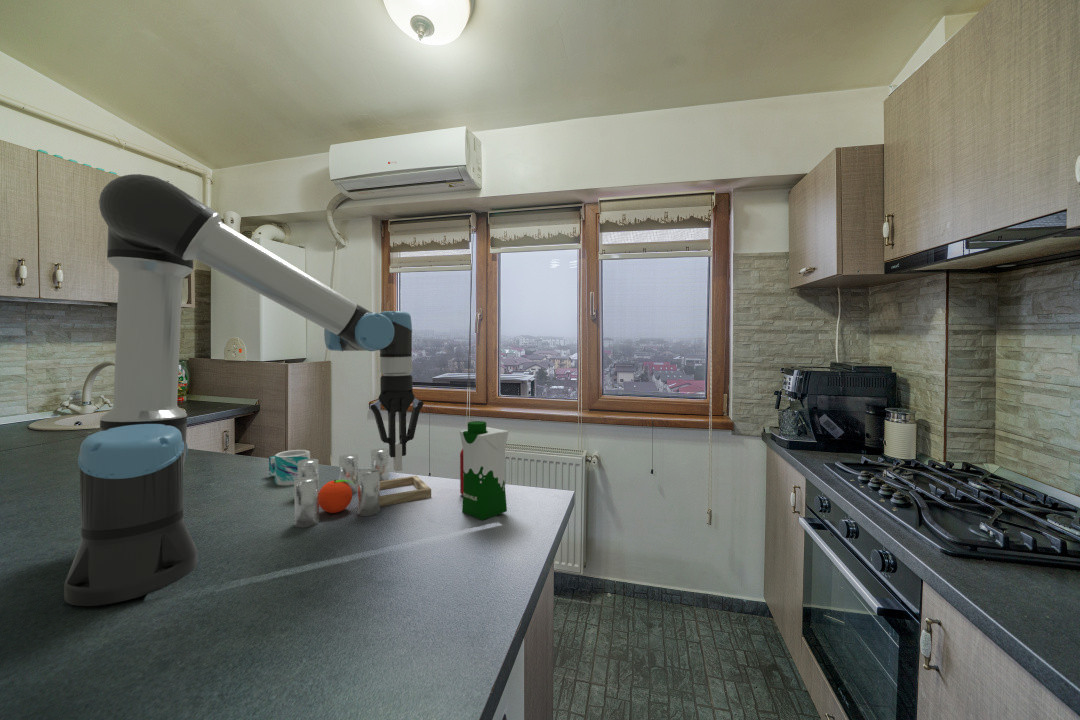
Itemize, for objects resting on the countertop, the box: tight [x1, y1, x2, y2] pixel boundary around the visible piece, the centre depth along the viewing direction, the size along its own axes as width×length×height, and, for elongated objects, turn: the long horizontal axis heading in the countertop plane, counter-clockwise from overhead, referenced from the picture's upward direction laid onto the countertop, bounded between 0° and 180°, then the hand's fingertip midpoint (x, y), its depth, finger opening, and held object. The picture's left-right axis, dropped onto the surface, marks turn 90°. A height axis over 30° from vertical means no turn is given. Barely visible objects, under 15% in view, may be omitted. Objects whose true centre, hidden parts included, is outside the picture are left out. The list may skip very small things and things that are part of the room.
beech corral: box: [380, 475, 432, 507], centre depth 106 cm, size 13×13×2 cm
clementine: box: [319, 479, 356, 514], centre depth 95 cm, size 8×7×7 cm
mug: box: [268, 449, 311, 486], centre depth 115 cm, size 8×12×8 cm
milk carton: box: [459, 420, 509, 521], centre depth 94 cm, size 9×9×20 cm
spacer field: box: [293, 447, 390, 529], centre depth 101 cm, size 24×22×9 cm
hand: (397, 469), depth 106 cm, fingers closed
